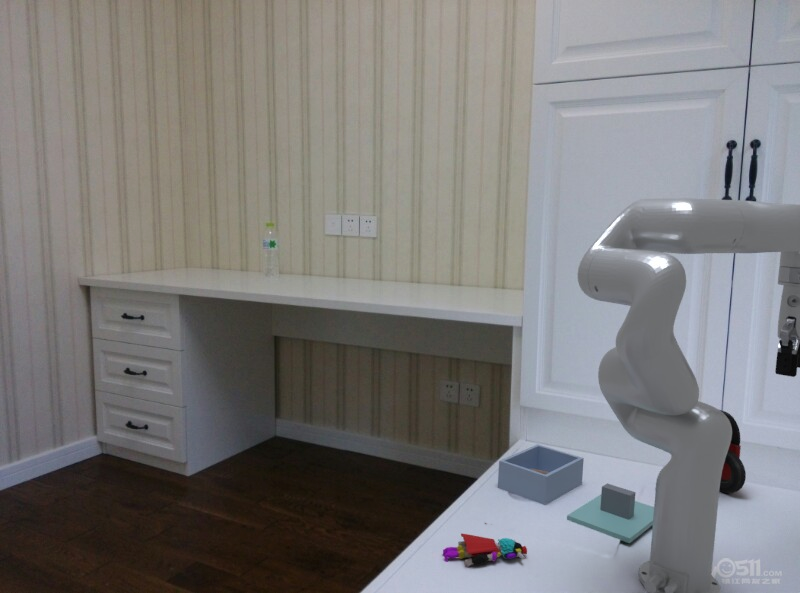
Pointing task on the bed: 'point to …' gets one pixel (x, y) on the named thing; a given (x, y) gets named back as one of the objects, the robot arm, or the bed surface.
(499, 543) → the toy
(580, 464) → the box
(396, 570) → the bed surface
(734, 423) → the headphones
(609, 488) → the lid
